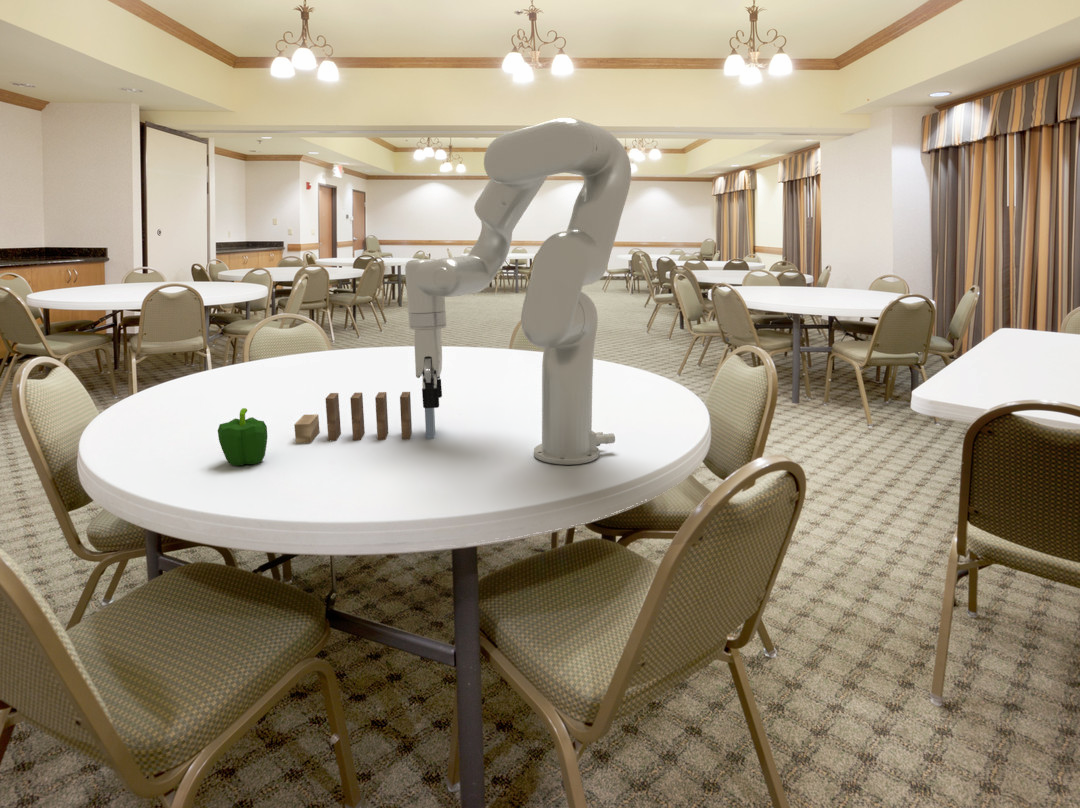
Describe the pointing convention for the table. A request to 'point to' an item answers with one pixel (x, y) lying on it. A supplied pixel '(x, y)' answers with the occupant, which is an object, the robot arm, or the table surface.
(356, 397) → the walnut tile
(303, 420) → the oak end block
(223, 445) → the bell pepper
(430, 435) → the blue grey rectangular block
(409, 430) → the walnut tile
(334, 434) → the walnut tile
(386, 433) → the walnut tile
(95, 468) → the table surface
